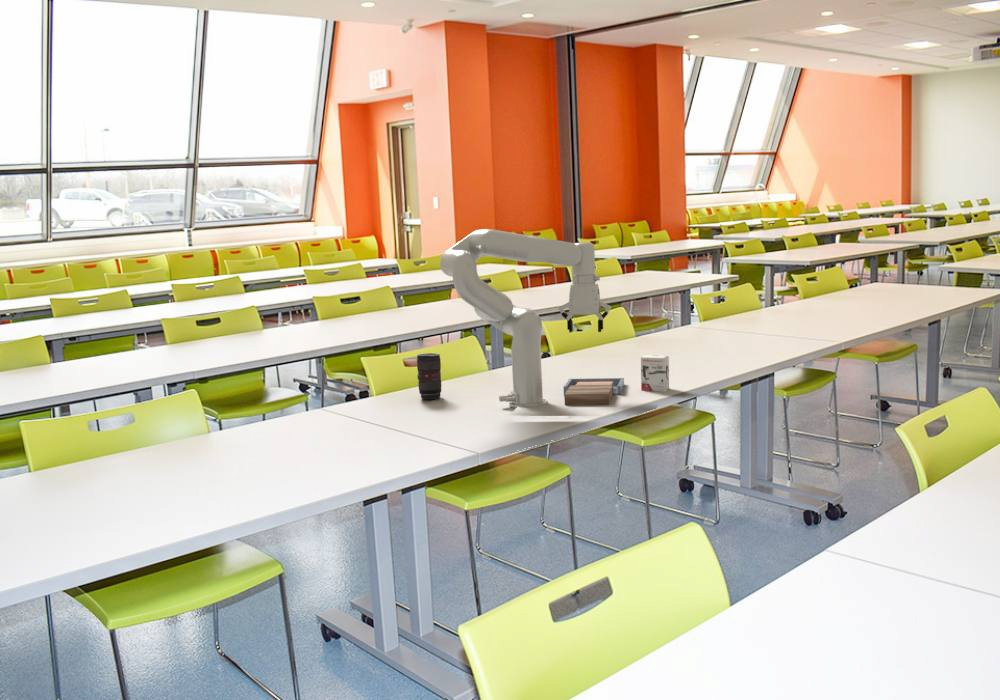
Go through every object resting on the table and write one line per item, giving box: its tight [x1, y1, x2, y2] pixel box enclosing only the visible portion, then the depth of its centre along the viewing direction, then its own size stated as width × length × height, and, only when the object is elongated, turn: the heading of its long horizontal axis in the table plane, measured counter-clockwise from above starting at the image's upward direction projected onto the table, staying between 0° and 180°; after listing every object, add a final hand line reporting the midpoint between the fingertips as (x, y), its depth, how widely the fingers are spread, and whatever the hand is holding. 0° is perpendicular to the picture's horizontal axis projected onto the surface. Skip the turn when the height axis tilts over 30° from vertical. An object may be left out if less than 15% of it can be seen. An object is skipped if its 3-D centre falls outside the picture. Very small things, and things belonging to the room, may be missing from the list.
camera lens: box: [416, 353, 442, 400], centre depth 309 cm, size 8×8×15 cm
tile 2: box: [577, 382, 614, 386], centre depth 305 cm, size 4×12×2 cm, turn 78°
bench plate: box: [563, 385, 614, 406], centre depth 291 cm, size 16×14×4 cm
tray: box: [563, 377, 625, 396], centre depth 306 cm, size 16×19×3 cm
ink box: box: [640, 354, 670, 393], centre depth 301 cm, size 9×5×12 cm, turn 62°
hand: (585, 331), depth 298 cm, fingers open, 9 cm apart
